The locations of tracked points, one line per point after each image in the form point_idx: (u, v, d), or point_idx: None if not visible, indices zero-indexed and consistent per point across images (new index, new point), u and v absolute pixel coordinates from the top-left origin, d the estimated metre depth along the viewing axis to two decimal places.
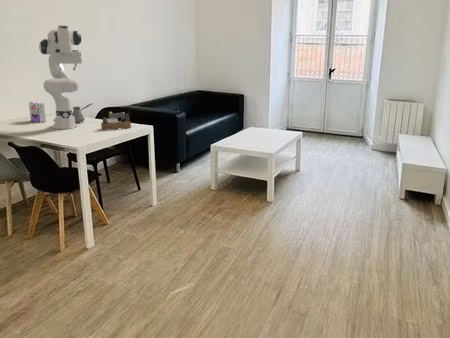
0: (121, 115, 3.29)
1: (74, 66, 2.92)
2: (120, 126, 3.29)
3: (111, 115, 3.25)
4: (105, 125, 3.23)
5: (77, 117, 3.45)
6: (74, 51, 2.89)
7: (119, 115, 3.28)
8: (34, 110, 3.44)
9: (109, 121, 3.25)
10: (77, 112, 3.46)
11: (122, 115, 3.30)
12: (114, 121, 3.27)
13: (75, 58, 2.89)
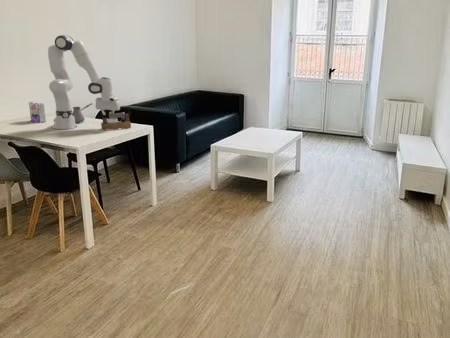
0: (121, 115, 3.29)
1: (102, 112, 3.29)
2: (120, 126, 3.29)
3: (111, 115, 3.25)
4: (105, 125, 3.23)
5: (77, 117, 3.45)
6: None
7: (119, 115, 3.28)
8: (34, 110, 3.44)
9: (109, 121, 3.25)
10: (77, 112, 3.46)
11: (122, 115, 3.30)
12: (114, 121, 3.27)
13: None
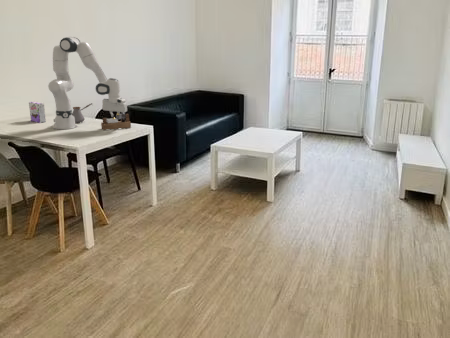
0: (123, 115, 3.29)
1: (111, 113, 3.25)
2: (120, 126, 3.29)
3: (119, 116, 3.22)
4: (105, 125, 3.23)
5: (77, 117, 3.45)
6: None
7: (122, 115, 3.28)
8: (34, 110, 3.44)
9: (109, 121, 3.25)
10: (77, 112, 3.46)
11: (124, 115, 3.30)
12: (114, 121, 3.27)
13: None
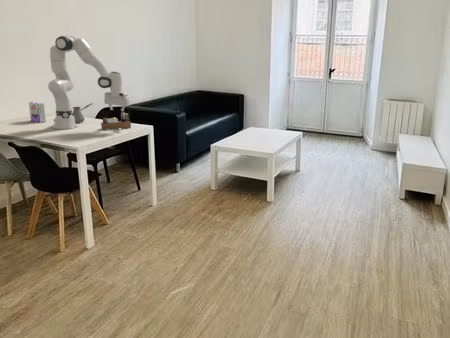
0: None
1: (110, 106, 3.23)
2: (120, 126, 3.29)
3: None
4: (105, 125, 3.23)
5: (77, 117, 3.45)
6: None
7: None
8: (34, 110, 3.44)
9: (109, 121, 3.25)
10: (77, 112, 3.46)
11: None
12: (114, 121, 3.27)
13: None
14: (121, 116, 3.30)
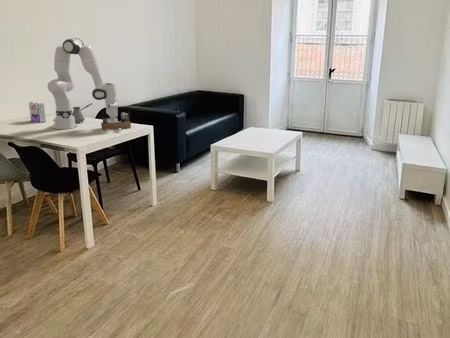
0: None
1: None
2: (120, 126, 3.29)
3: None
4: (105, 125, 3.23)
5: (77, 117, 3.45)
6: None
7: None
8: (34, 110, 3.44)
9: (109, 121, 3.25)
10: (77, 112, 3.46)
11: None
12: (114, 121, 3.27)
13: None
14: (121, 116, 3.30)
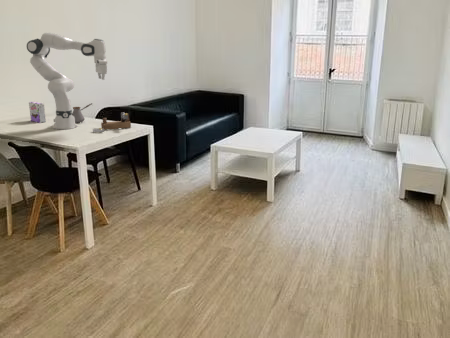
0: None
1: (98, 75, 3.23)
2: (120, 126, 3.29)
3: None
4: (105, 125, 3.23)
5: (77, 117, 3.45)
6: None
7: None
8: (34, 110, 3.44)
9: (94, 131, 3.14)
10: (77, 112, 3.46)
11: None
12: (99, 131, 3.14)
13: None
14: (121, 116, 3.30)
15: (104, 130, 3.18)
